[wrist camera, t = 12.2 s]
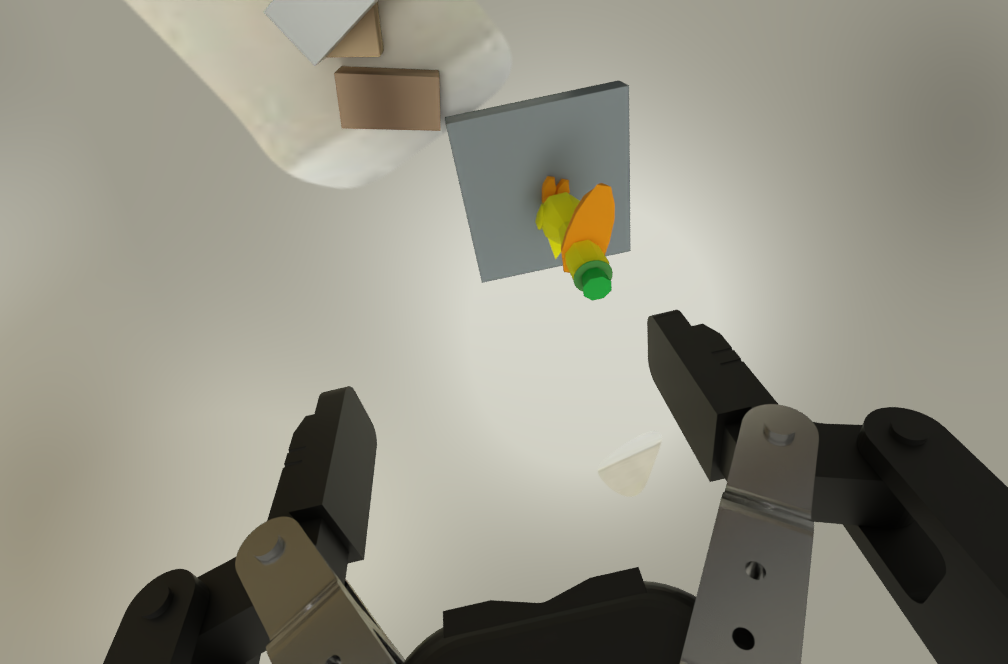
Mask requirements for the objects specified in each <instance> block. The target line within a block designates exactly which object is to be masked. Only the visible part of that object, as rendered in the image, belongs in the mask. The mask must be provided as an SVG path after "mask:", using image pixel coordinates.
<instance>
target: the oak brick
mask: <svg viewBox="0 0 1008 664" xmlns="http://www.w3.org/2000/svg"><path fill="white" fill-rule="evenodd" d="M382 52H383V43H382V36H381V28H380V20H379V12H378V4H377V2H376V3H375V5H374V6H373V7H372V8H371V9H370V10H369V11H368V12H367V13H366V14H365V15H364V17H363V18H362V19H361V20H360V21H359V22H358V23H357V24H356V25H355V26H354V27H353V29H352V30H351V31H350V32H349V33H348V34H347V35H346V36H345V37H344V38H343V39H342V40H341V42H340V43H339V44H338V45H337V46H336V47H335V48H334V49H333V50H332V51H331V52H330V54H329V55H328V56H327V57H380V55H381V54H382Z"/></svg>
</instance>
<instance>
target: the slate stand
mask: <svg viewBox="0 0 1008 664" xmlns="http://www.w3.org/2000/svg"><path fill="white" fill-rule="evenodd" d="M445 121H446V127H447V131H448V135H449V140H450V144H451V149H452V153H453V157H454V162H455V166H456V171H457V175H458V179H459V184H460V188H461V193H462V197H463V201H464V206H465V210H466V214H467V219H468V223H469V227H470V232H471V236H472V241H473V245H474V249H475V254H476V258H477V262H478V267H479V271H480V276H481V280H482V282H487V281H492V280H497V279H501V278H506V277H510V276H515V275H520V274H525V273H530V272H534V271H539V270H543V269H548V268H553V267H558V266H562V265H563V262H562V254H561V253H560V254H559V256H558V257H557V258H556V260H555V257H554V254H553V251H552V249H551V246H550V243H549V240H548V238H547V237H546V236H545V234H544V232H543V230H542V229H541V230H539V229H538V228H537V225H536V223H535V220H536V216H537V212H538V210H539V208H540V206H541V204H542V185H543V183H544V181H545V179H546V177H547V176H552V177H555V185H556V186H557V184H558V183H559V181H560V180H561V179H567V180H569V189H570V193H569V194H570V195H572V196H573V197H575V198H576V199H578V200H580V201H581V199H582V197H583V196H584V195H585V194H587V193H588V192H589V191H591V190H592V189H594V188H595V186H596V185H597V184H600V183H603V184H606V185H608V186H610V187H611V189H612V194H613V198H614V202H615V219H614V224H613V229H612V233H611V238H610V242H609V245H608V248H607V251H606V253H605V256H609V255H614V254H619V253H623V252H628V251H630V160H629V159H630V158H629V85H626V84H625V83H623V82H621V81H614V82H609V83H605V84H600V85H596V86H591V87H586V88H581V89H576V90H572V91H567V92H562V93H558V94H553V95H548V96H543V97H539V98H534V99H529V100H525V101H521V102H515V103H510V104H506V105H501V106H497V107H492V108H487V109H483V110H477V111H473V112H468V113H463V114H459V115H454V116H449V117H445ZM554 195H555V194H554Z"/></svg>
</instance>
